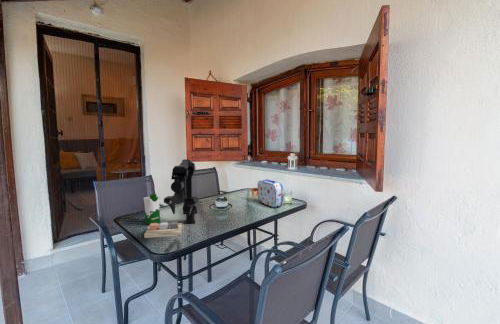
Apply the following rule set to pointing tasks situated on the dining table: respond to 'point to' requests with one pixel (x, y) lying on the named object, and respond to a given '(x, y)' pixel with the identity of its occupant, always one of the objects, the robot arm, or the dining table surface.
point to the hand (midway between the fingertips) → (181, 214)
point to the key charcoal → (174, 225)
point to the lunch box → (270, 193)
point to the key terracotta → (153, 226)
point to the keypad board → (163, 232)
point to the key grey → (164, 226)
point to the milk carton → (152, 209)
